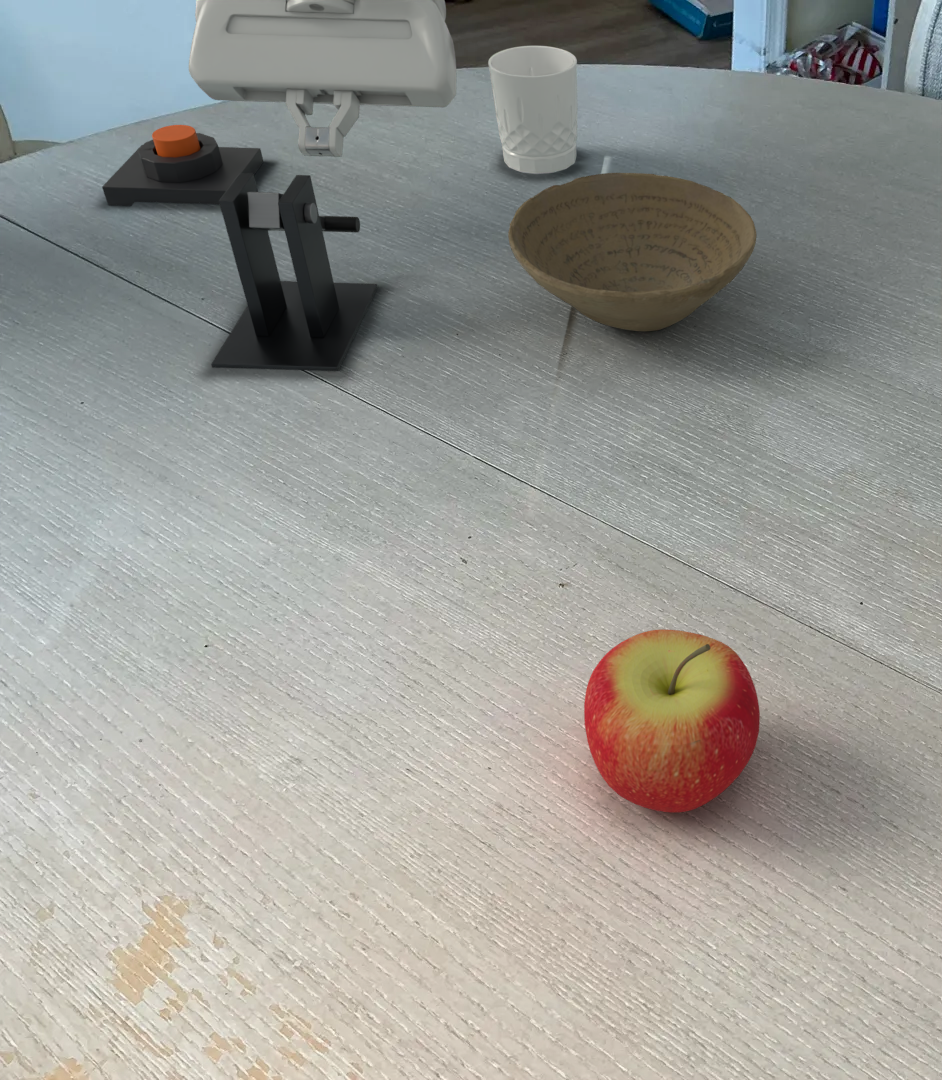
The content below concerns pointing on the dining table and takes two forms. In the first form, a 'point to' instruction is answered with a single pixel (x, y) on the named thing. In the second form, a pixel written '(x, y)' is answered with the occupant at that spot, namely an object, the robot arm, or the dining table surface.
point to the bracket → (288, 289)
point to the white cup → (536, 107)
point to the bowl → (632, 246)
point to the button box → (180, 174)
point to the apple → (671, 719)
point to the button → (175, 141)
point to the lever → (269, 218)
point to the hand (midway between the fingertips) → (320, 154)
